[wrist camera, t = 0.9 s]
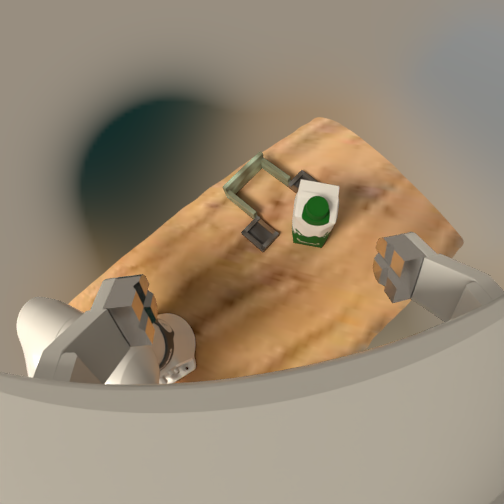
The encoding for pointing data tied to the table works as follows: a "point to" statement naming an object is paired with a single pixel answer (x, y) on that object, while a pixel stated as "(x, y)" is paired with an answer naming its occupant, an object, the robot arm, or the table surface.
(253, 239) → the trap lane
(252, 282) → the table surface
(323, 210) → the soya milk
